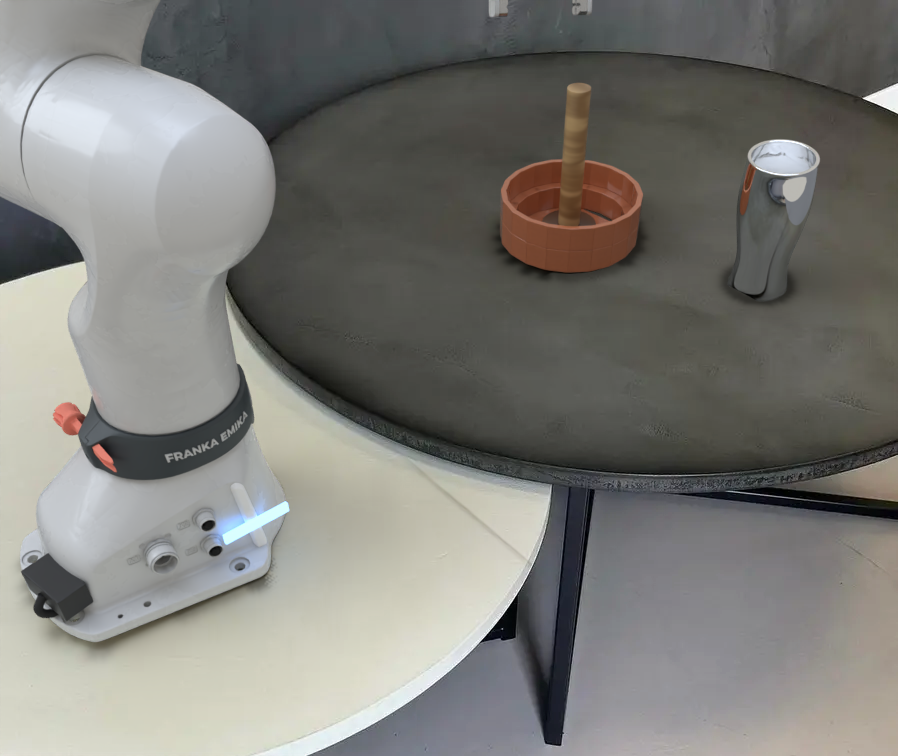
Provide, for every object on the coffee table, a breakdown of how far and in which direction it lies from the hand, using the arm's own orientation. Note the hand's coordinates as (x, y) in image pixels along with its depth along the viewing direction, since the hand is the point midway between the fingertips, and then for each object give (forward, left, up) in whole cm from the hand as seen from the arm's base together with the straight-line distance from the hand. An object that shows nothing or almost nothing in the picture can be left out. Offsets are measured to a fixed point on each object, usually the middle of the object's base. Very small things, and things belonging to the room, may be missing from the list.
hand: (540, 16), depth 103 cm
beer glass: (+5, -29, -21) cm, 36 cm away
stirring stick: (-3, -9, -20) cm, 22 cm away
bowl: (-3, -9, -21) cm, 23 cm away
